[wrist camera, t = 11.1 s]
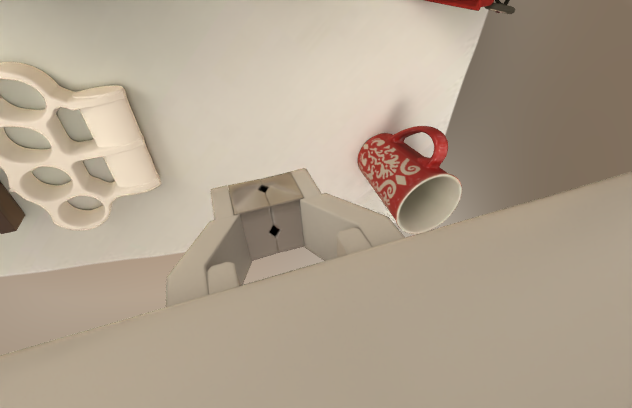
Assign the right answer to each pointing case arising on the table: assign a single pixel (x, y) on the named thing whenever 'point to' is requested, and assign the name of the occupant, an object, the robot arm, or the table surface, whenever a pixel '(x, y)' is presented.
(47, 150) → the cream flat holed block
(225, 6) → the table surface
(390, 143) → the mug
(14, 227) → the bar
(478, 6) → the robot toy
